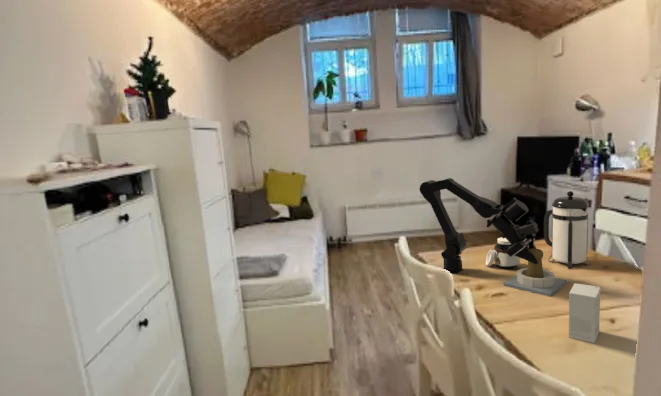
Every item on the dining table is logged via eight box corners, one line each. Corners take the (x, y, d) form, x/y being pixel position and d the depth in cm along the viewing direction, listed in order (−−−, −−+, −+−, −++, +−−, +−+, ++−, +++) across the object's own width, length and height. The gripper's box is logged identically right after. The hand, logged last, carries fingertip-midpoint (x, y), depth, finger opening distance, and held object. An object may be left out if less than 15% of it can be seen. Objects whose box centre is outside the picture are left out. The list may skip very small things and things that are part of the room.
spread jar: (523, 268, 162) (523, 240, 160) (498, 273, 160) (498, 244, 158) (503, 260, 174) (503, 234, 172) (480, 264, 171) (480, 237, 169)
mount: (503, 285, 147) (503, 275, 146) (522, 273, 157) (522, 263, 157) (550, 296, 135) (550, 285, 134) (567, 282, 145) (567, 272, 145)
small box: (573, 325, 115) (574, 282, 113) (599, 331, 111) (601, 286, 109) (567, 337, 109) (568, 292, 107) (595, 344, 105) (596, 297, 103)
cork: (548, 279, 144) (548, 249, 142) (535, 282, 142) (535, 252, 140) (534, 274, 150) (534, 245, 148) (521, 277, 148) (522, 248, 146)
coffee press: (590, 258, 167) (592, 188, 163) (590, 271, 154) (592, 194, 150) (543, 254, 177) (544, 187, 172) (540, 266, 164) (540, 193, 159)
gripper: (516, 220, 138) (551, 255, 132) (530, 209, 152) (562, 241, 147) (492, 239, 144) (525, 274, 139) (508, 228, 158) (538, 259, 153)
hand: (539, 261), depth 144 cm, fingers closed on cork, 5 cm apart
